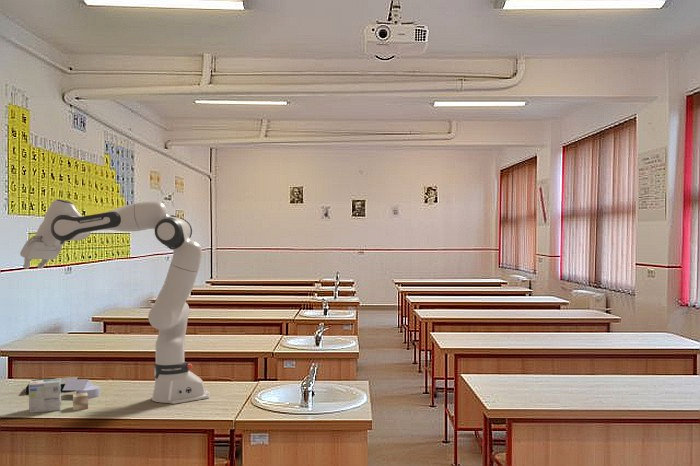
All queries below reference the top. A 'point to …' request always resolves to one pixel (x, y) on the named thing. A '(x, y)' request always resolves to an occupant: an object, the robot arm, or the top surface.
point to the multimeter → (63, 382)
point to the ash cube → (80, 401)
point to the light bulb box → (44, 395)
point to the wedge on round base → (83, 387)
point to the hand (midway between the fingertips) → (32, 268)
